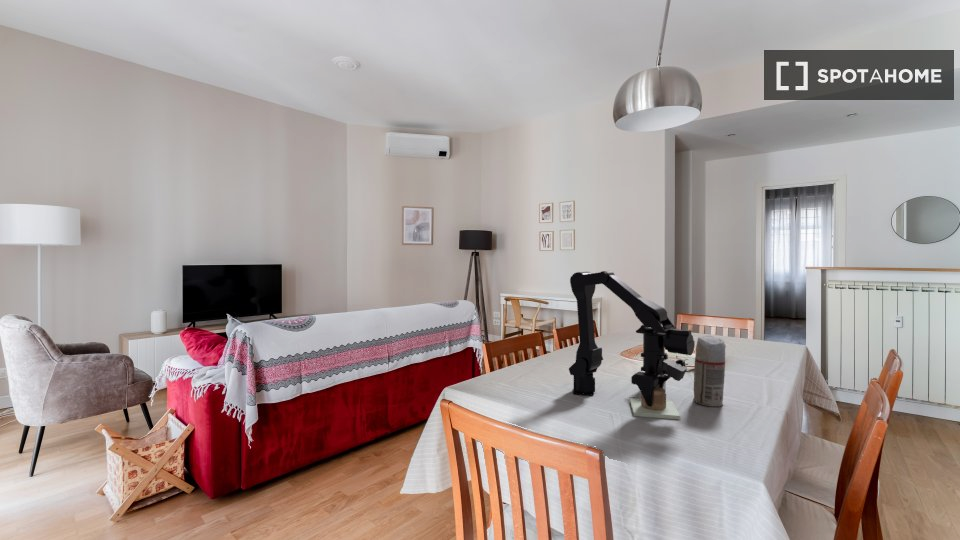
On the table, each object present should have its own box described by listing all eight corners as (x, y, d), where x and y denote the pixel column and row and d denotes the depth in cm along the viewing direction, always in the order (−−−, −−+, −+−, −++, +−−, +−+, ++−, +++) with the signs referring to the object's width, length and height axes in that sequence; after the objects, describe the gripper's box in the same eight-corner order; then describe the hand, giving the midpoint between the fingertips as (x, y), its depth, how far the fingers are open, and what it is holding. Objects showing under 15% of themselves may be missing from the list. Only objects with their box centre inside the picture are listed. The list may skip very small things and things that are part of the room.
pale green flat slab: (633, 415, 119) (633, 399, 118) (629, 401, 130) (629, 386, 130) (680, 419, 116) (680, 403, 115) (672, 404, 127) (672, 389, 127)
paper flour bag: (721, 399, 131) (722, 335, 130) (727, 408, 123) (728, 340, 122) (691, 397, 134) (691, 334, 133) (695, 405, 126) (695, 339, 125)
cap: (660, 412, 118) (660, 392, 118) (638, 406, 123) (638, 387, 122) (668, 406, 123) (668, 387, 123) (646, 401, 127) (646, 382, 127)
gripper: (672, 360, 110) (672, 419, 110) (692, 348, 124) (692, 400, 125) (630, 354, 117) (630, 409, 118) (654, 343, 131) (653, 392, 132)
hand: (653, 403), depth 123 cm, fingers closed on cap, 6 cm apart
